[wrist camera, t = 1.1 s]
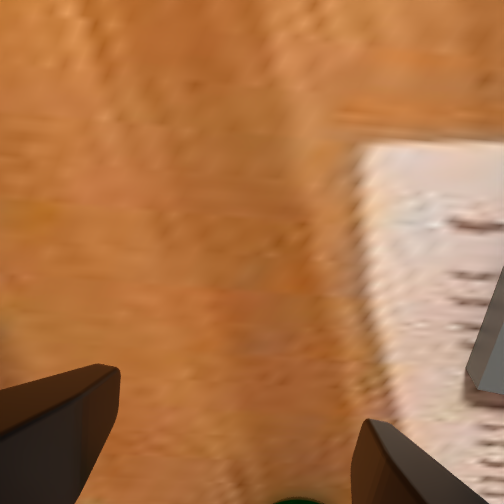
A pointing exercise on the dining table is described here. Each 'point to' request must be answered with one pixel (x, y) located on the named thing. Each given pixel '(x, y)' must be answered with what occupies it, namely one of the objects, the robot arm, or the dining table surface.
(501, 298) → the switch board
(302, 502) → the soda can
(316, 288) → the dining table surface
